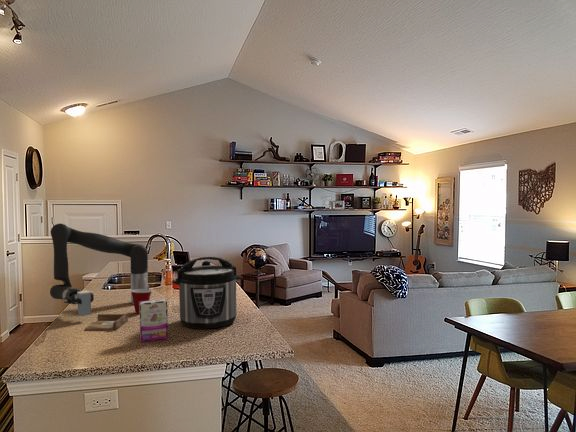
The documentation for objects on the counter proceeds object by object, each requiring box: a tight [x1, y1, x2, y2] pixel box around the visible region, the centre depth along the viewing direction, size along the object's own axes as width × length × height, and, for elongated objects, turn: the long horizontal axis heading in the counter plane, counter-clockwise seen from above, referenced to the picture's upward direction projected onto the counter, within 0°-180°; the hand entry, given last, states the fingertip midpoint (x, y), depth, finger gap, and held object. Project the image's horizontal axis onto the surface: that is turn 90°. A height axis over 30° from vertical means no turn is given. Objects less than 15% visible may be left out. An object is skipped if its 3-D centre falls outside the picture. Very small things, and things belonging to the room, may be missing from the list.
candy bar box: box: [138, 298, 169, 343], centre depth 182 cm, size 11×5×16 cm, turn 114°
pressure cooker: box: [171, 256, 243, 330], centre depth 207 cm, size 30×28×32 cm
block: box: [77, 290, 92, 317], centre depth 209 cm, size 5×5×11 cm
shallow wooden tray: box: [84, 313, 129, 332], centre depth 202 cm, size 15×14×4 cm
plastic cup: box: [130, 289, 153, 315], centre depth 226 cm, size 11×11×12 cm
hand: (86, 300), depth 207 cm, fingers closed on block, 4 cm apart
